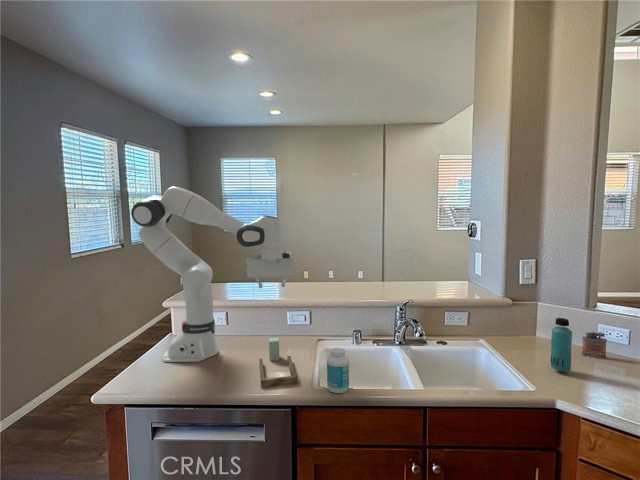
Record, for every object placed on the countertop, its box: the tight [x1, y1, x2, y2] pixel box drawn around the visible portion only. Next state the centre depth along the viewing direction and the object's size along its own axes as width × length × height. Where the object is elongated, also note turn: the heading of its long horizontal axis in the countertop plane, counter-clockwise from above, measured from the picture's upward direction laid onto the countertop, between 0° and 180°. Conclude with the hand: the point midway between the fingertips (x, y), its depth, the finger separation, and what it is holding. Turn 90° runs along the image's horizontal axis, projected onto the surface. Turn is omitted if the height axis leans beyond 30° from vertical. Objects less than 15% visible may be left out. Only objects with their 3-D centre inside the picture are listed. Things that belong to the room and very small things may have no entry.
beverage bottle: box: [549, 317, 573, 372], centre depth 131 cm, size 6×7×20 cm
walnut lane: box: [258, 355, 298, 388], centre depth 134 cm, size 12×19×2 cm, turn 11°
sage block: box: [268, 337, 280, 362], centre depth 148 cm, size 4×4×8 cm
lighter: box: [581, 331, 608, 359], centre depth 145 cm, size 8×3×10 cm, turn 68°
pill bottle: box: [326, 347, 350, 394], centre depth 121 cm, size 8×7×14 cm
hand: (271, 287), depth 150 cm, fingers open, 8 cm apart
